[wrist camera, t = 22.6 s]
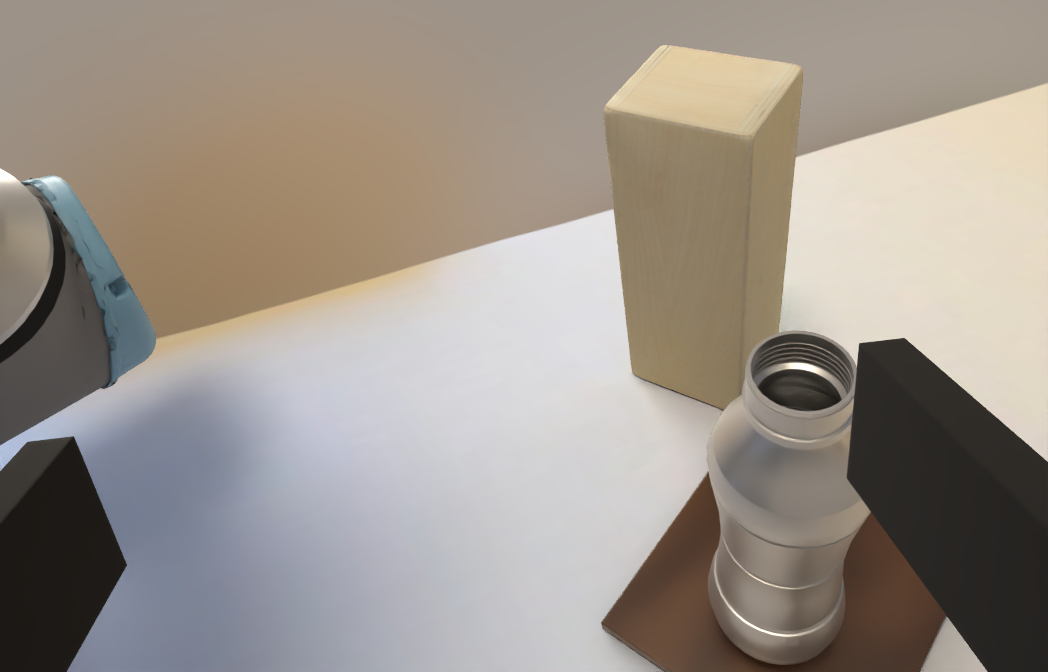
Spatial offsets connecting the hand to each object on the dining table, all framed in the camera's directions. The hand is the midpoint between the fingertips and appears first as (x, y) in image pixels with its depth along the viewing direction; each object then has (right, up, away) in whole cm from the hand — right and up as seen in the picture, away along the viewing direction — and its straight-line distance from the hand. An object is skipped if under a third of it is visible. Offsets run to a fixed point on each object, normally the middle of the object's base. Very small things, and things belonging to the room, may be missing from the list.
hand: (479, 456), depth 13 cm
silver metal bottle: (+14, -13, +28) cm, 33 cm away
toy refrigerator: (+13, 0, +41) cm, 43 cm away
